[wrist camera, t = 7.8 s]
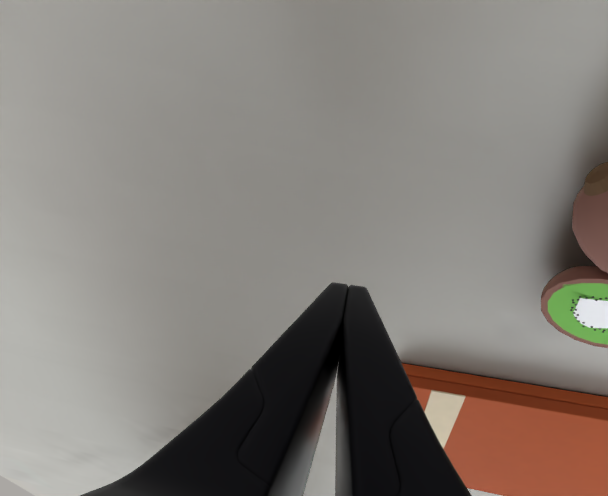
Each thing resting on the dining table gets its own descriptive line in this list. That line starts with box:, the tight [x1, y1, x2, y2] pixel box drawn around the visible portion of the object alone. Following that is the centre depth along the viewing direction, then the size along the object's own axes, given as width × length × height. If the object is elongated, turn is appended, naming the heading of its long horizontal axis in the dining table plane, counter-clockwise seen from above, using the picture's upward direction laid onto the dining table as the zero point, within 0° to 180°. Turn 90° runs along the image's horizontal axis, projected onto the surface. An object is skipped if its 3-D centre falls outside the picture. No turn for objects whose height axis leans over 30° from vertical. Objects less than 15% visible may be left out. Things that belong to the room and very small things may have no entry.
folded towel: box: [402, 363, 608, 496], centre depth 16 cm, size 7×14×1 cm, turn 90°
